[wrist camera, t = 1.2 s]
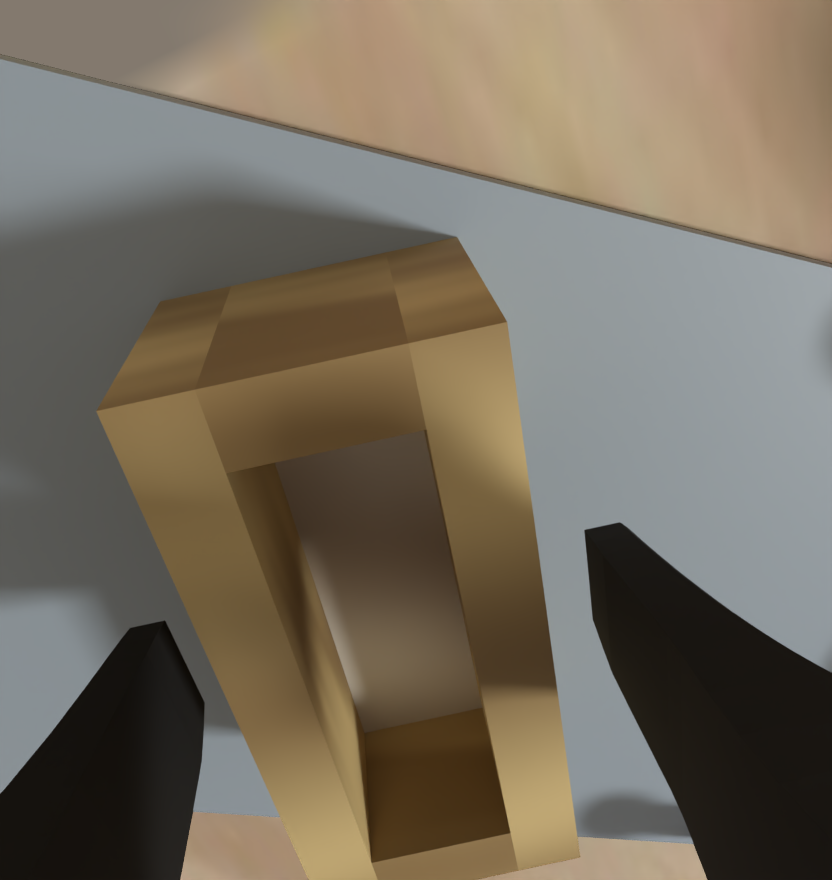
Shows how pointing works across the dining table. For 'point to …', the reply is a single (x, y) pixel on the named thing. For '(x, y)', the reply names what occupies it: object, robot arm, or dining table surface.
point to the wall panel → (536, 376)
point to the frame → (360, 557)
